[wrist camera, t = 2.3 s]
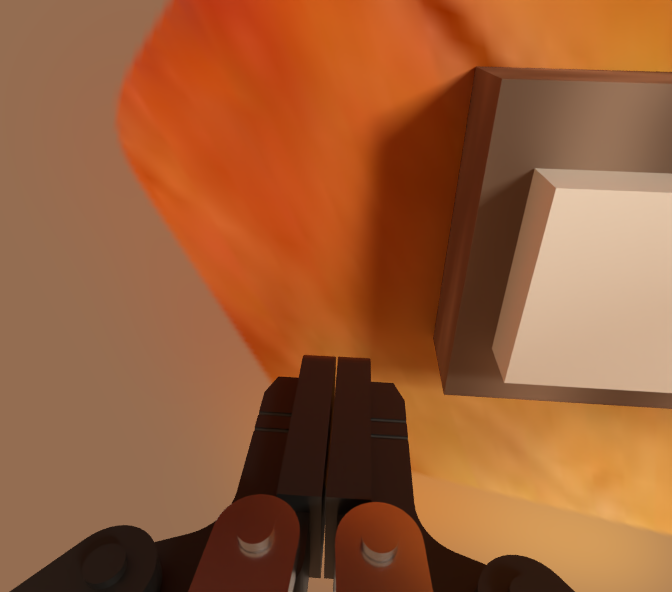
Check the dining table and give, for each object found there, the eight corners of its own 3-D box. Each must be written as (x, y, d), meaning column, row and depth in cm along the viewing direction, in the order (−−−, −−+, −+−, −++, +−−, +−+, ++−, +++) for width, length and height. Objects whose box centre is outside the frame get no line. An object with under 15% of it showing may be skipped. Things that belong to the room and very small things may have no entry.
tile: (838, 179, 14) (901, 202, 12) (732, 362, 18) (771, 399, 16) (534, 168, 15) (555, 188, 13) (491, 348, 18) (504, 382, 16)
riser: (886, 78, 16) (1025, 94, 13) (729, 355, 22) (794, 416, 19) (475, 66, 17) (502, 78, 13) (433, 338, 23) (443, 394, 20)
